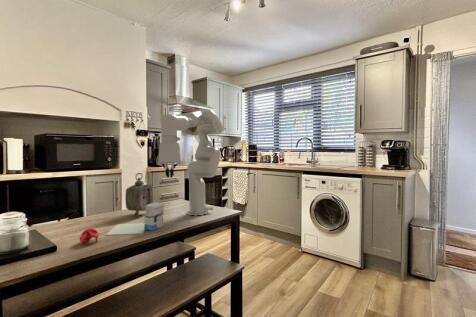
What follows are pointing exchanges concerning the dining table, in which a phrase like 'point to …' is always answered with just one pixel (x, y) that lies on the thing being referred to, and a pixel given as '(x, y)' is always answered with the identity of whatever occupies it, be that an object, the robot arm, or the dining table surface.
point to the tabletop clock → (138, 196)
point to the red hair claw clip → (88, 235)
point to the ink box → (154, 216)
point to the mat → (127, 229)
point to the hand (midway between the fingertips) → (169, 177)
